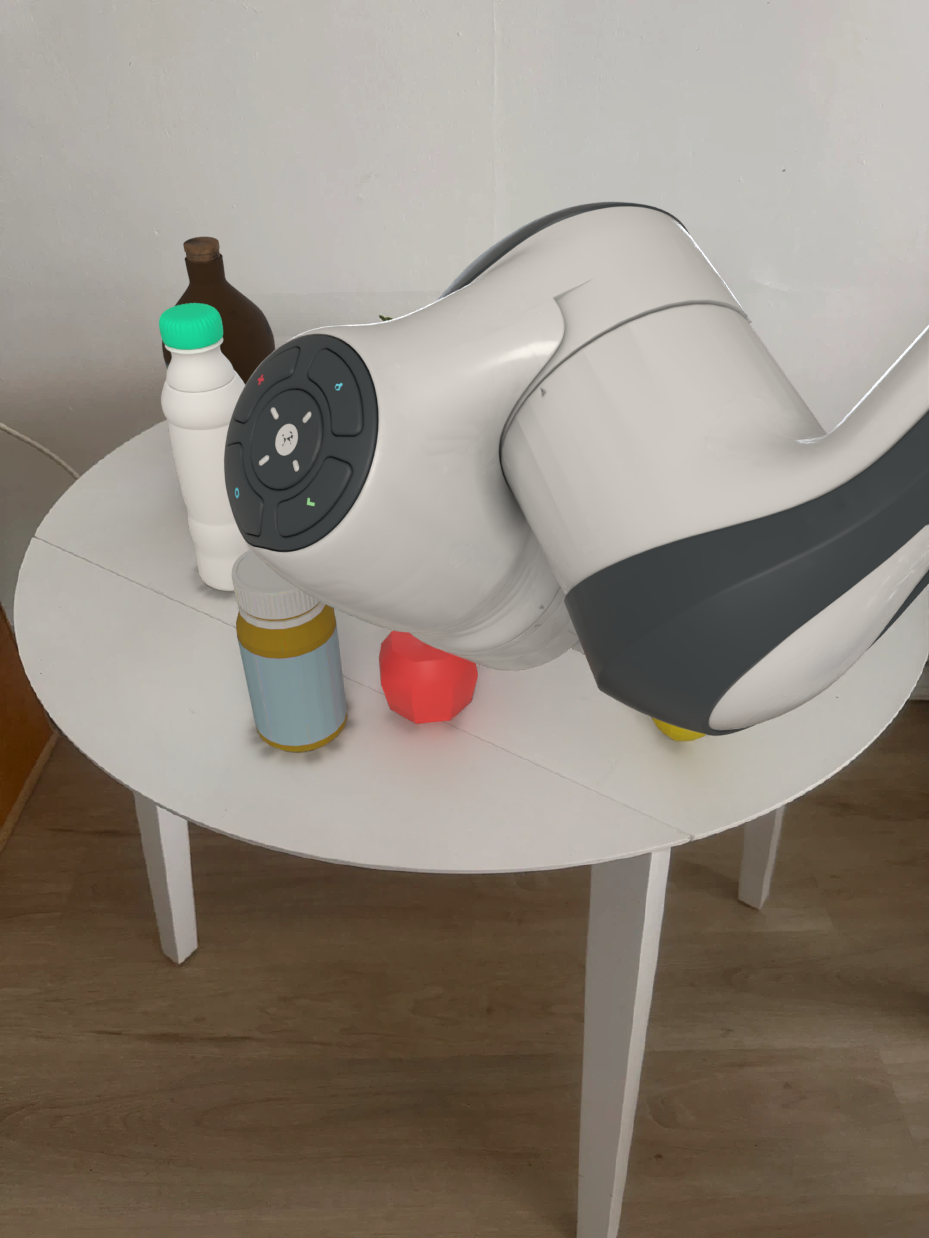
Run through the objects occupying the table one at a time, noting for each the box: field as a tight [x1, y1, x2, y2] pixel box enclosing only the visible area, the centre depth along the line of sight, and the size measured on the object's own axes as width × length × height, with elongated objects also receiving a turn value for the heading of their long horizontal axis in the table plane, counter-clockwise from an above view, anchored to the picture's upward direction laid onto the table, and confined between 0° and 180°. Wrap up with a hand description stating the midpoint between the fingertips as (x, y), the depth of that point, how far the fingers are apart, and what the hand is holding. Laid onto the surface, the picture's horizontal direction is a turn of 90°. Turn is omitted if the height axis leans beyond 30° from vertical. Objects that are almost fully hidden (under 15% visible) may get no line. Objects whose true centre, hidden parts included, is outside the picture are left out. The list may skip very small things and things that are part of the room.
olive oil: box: [161, 236, 276, 385], centre depth 98 cm, size 11×11×25 cm
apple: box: [378, 630, 479, 725], centre depth 76 cm, size 8×8×8 cm
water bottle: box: [158, 303, 250, 592], centre depth 85 cm, size 7×7×25 cm
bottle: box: [231, 549, 348, 754], centre depth 72 cm, size 7×7×15 cm
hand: (606, 630), depth 56 cm, fingers open, 8 cm apart
